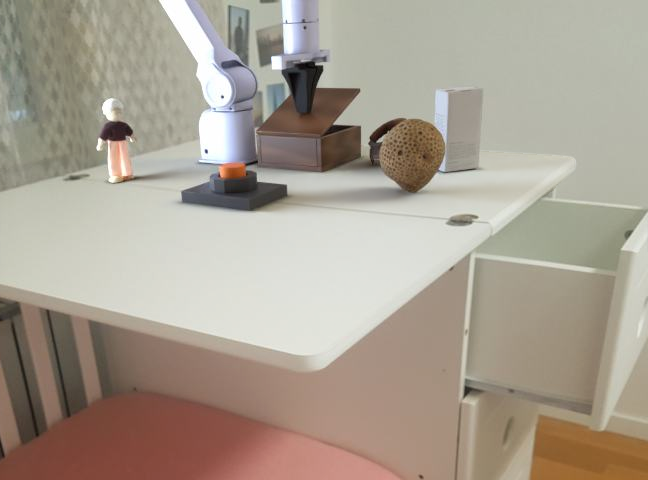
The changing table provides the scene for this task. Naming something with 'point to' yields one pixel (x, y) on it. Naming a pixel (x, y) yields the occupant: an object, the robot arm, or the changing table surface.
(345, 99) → the lid
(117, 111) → the grandmother figurine
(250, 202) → the switch block
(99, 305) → the changing table surface
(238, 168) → the button
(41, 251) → the changing table surface
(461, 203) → the changing table surface
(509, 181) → the changing table surface
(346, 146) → the chest
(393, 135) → the natural sponge
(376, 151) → the pottery mug
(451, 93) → the cosmetic box
